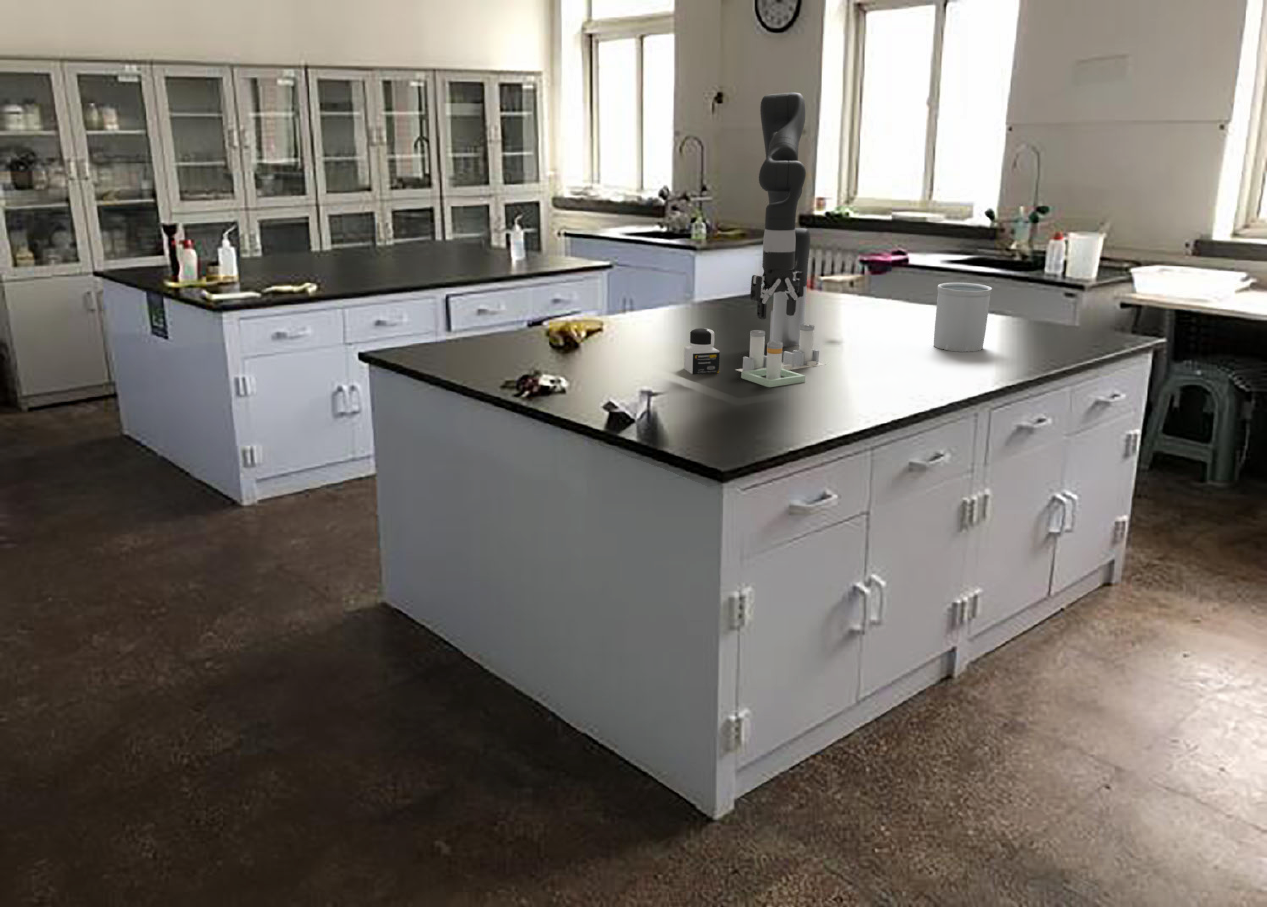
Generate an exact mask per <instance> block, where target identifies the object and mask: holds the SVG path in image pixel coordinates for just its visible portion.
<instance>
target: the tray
mask: <svg viewBox="0 0 1267 907" xmlns="http://www.w3.org/2000/svg"><path fill="white" fill-rule="evenodd" d="M740 375H741V376H740V378H741V379H743V380H746V381H749V382H752V383H755V384H758V385H761V386H763V387H766V388H773V387H780V386H786V385H792V384H793V385H795V384H800V383H805V382H806V375H805V374H801V373H797V372H795V371H793V370H792V371H791V370H785V369H782V368H781V378H778V379H771V380H770V379H767V378H766V368H765V369H758V370H751V371H744V372H741V374H740Z"/></svg>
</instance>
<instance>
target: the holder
mask: <svg viewBox="0 0 1267 907" xmlns="http://www.w3.org/2000/svg"><path fill="white" fill-rule="evenodd" d="M819 358H820V350H819V349H814V348H813V359H812V360H813V361H810V362H807V365H803V364H804V352H801V351H799V350H797V349H794V350H792V352H791V351H786V350H785V351H783V355H782V359H783V360H782V361H783V362H782V363H781V368H782V369H785V370H789V371H791V370H792V371H793V370H798V369H805V368H811V367H813V368H814V367H819V366H826V365H827V364H825V363H821V362H819ZM766 365H767V355H765V354H764V366H763V367H764V368H760V369H765V368H766ZM751 370H754V359H752V358H750V356H749V357H748V356H743V357H742V368H738V369H736V368H735V371H738V372H744V371H751Z"/></svg>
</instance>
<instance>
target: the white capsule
mask: <svg viewBox="0 0 1267 907" xmlns="http://www.w3.org/2000/svg"><path fill="white" fill-rule="evenodd" d="M814 339H815V324H808V323H807V324H806V323H805V324H803V325H800V340H799V345H798V351H801V352H804V364H803V365H807V362H810V361H813V360H812V359H813V349H814Z"/></svg>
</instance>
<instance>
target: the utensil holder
mask: <svg viewBox="0 0 1267 907" xmlns="http://www.w3.org/2000/svg"><path fill="white" fill-rule="evenodd" d="M992 292H993V287H991V286H988V285H985V284H980V283H973V282H972V283H970V282H944V283H939V284H938V285H937V299H936V311H935V321H934V331H933V332H934V334H933V336H934V337H933V347H935V348H937V349H939V350H943V349H944V350H943V351H950V352H958V351H959V352H960V353H966V351H968V352H967V353H970V351H973V352H979V351H981V349H982V350H983V348H984V342H985V336H986V330H987V324H988V323H987V322H988V315H989V308H990V307H989V306H990V302H991V300H990V299H991V294H992ZM978 350H979V351H978Z"/></svg>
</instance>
